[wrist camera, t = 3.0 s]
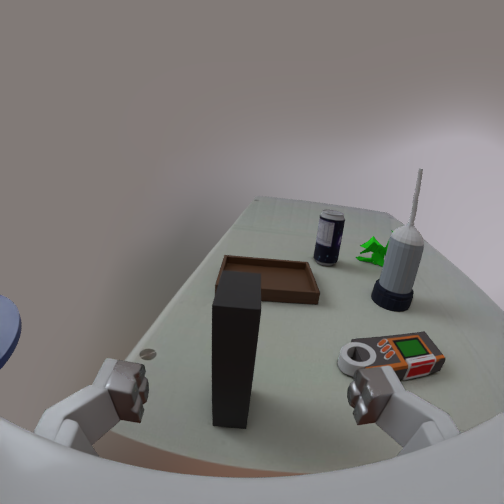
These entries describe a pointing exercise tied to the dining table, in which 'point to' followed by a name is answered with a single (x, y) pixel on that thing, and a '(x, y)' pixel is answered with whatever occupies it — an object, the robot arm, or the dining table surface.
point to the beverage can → (329, 237)
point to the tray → (277, 278)
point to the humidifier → (400, 264)
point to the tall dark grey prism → (234, 346)
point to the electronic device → (393, 355)
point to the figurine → (374, 251)
